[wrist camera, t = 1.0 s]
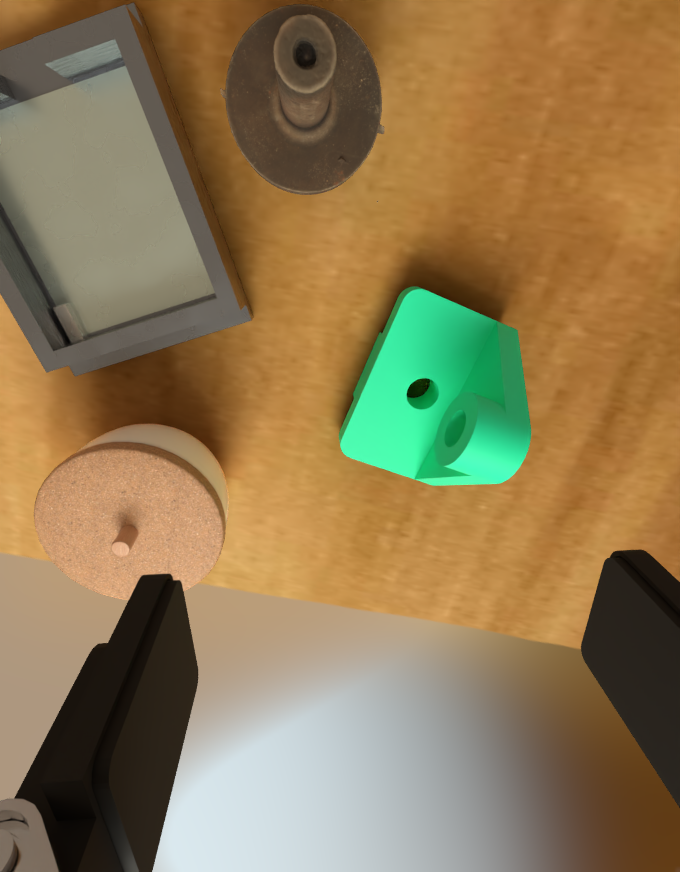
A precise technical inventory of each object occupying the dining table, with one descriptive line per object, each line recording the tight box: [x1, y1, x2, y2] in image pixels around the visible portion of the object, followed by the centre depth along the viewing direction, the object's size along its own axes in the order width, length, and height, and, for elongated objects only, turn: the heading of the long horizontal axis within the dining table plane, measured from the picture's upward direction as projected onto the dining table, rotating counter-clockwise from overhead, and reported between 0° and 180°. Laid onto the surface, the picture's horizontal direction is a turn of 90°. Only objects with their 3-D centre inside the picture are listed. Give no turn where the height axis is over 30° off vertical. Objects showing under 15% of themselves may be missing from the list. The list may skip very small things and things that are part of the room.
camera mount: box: [339, 286, 531, 486], centre depth 28 cm, size 12×8×10 cm, turn 158°
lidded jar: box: [34, 424, 229, 600], centre depth 30 cm, size 11×11×9 cm
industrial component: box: [220, 4, 384, 202], centre depth 21 cm, size 9×7×12 cm
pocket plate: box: [0, 3, 253, 376], centre depth 25 cm, size 12×16×4 cm
